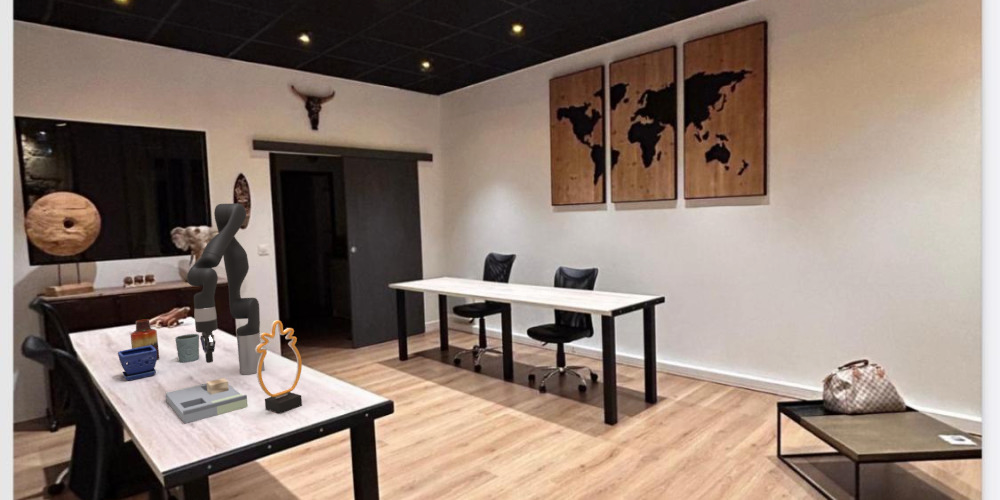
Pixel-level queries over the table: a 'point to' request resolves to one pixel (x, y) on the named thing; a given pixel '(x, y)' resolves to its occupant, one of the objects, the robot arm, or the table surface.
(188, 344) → the teal cup
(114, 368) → the table surface
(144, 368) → the flower pot
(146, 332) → the vase
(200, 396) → the board
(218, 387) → the beech block
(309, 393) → the table surface
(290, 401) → the lamp
